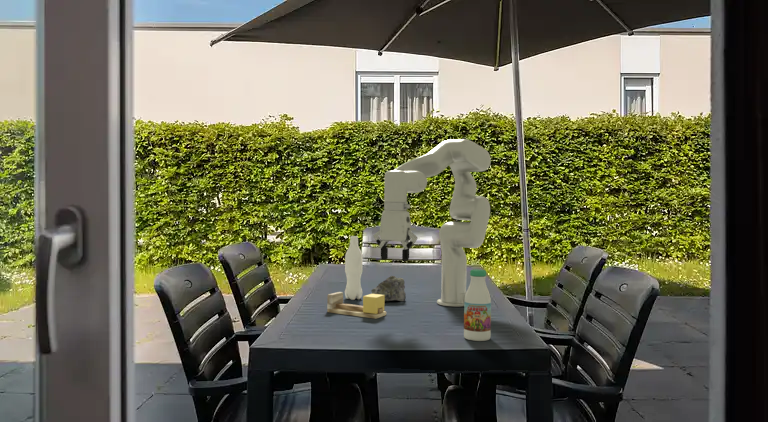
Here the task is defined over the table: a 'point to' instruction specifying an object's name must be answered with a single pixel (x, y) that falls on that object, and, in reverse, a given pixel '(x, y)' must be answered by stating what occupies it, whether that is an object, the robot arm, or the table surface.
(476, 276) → the milk bottle
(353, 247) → the white bottle
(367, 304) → the block
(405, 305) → the table surface
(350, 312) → the rail
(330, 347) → the table surface
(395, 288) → the mineral rock
